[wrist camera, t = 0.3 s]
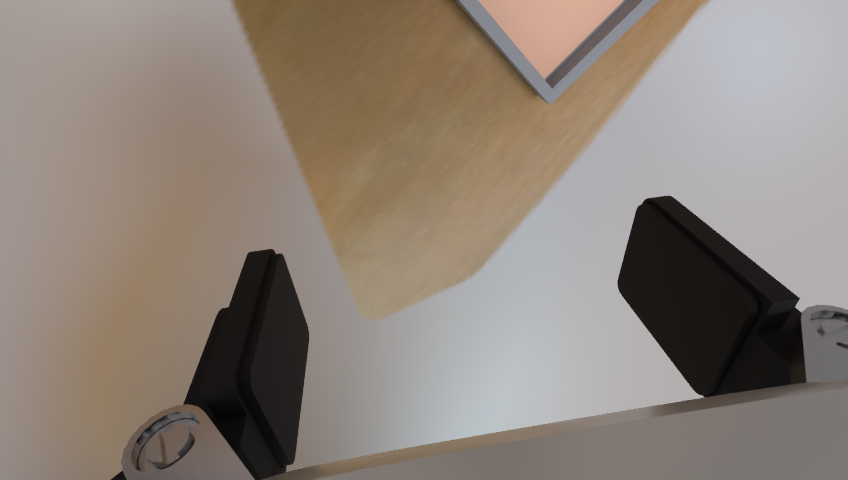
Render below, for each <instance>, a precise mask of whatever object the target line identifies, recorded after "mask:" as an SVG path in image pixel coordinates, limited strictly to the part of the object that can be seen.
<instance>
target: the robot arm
mask: <svg viewBox="0 0 848 480" xmlns="http://www.w3.org/2000/svg"><path fill="white" fill-rule="evenodd" d="M618 289H619V292H620V293H621V294H622V296H623V297H624V299H625V300H626V301H627V303H628V304H629V305H630V307H631V308H632V309H633V311H634V312H635V313H636V315H637V316H638V317H639V319H640V320H641V321H642V323H643V324H644V325H645V326H646V328H647V329H648V330H649V332H650V333H651V334H652V336H653V337H654V338H655V340H656V341H657V342H658V344H659V345H660V346H661V348H662V349H663V350H664V352H665V353H666V354H667V356H668V357H669V358H670V359H671V361H672V362H673V363H674V365H675V366H676V367H677V369H678V370H679V371H680V373H681V374H682V375H683V377H684V378H685V379H686V381H687V382H688V383H689V385H690V386H691V387H692V388H693V390H694V391H695V392H696V393H698V394H699V395H703V396H704V397H705V398H700V399H694V400H687V401H681V402H675V403H669V404H664V405H657V406H651V407H645V408H639V409H633V410H626V411H621V412H614V413H609V414H603V415H597V416H591V417H585V418H579V419H574V420H567V421H561V422H556V423H549V424H543V425H537V426H532V427H526V428H520V429H514V430H508V431H502V432H496V433H490V434H485V435H479V436H473V437H467V438H462V439H456V440H450V441H444V442H439V443H433V444H428V445H421V446H416V447H410V448H405V449H399V450H393V451H387V452H382V453H377V454H372V455H366V456H361V457H356V458H351V459H346V460H340V461H335V462H331V463H325V464H319V465H315V466H311V467H307V468H303V469H298V470H294V471H290V472H286V466H287V465H291V464H293V463H294V460H295V453H296V445H297V437H298V428H299V420H300V411H301V403H302V395H303V386H304V378H305V369H306V361H307V352H308V343H309V331H308V326H307V323H306V320H305V317H304V314H303V311H302V308H301V306H300V303H299V300H298V297H297V294H296V291H295V288H294V285H293V282H292V279H291V276H290V273H289V270H288V268H287V264H286V262H285V259H284V256H283V255H282V254H276V253H275V251H274V250H273V249H268V250H261V251H254V252H249V253H248V254H247V257H246V260H245V262H244V265H243V268H242V271H241V274H240V277H239V279H238V282H237V285H236V288H235V291H234V294H233V297H232V300H231V302H230V305H229V307H228V308H222V309H221V310H220V311H219V312H218V314H217V316H216V319H215V321H214V324H213V327H212V329H211V332H210V335H209V337H208V340H207V343H206V345H205V348H204V351H203V353H202V356H201V359H200V361H199V364H198V367H197V369H196V372H195V375H194V377H193V380H192V383H191V385H190V388H189V391H188V393H187V396H186V399H185V401H184V404H183V405H176V406H174V407H170V408H167V409H164V410H163V411H161V412H159V413H158V414H156V415H154V416H152V417H151V418H149V419H148V420H147V421H146V422H145V423H143V424H142V425H141V426H140V427H139V428H138V429H137V430H136V432H135V433H134V434H133V435H132V436H131V437H130V440H129V441H128V443H127V445H126V447H125V448H124V451H123V456H122V460H121V464H122V469H123V470H122V471H121V472H120V473H119V474H117V475H116V476H115V477H114V478H112V479H111V480H848V310H846V309H843V308H839V307H834V306H828V305H816V306H812V307H808V308H806V309H805V310H804V311H803V312H802V313H801V312H800V311H799V310H797V309H796V308H795V306H796V304H797V302H798V301H799V299H800V298H799V297H797V296H796V295H795V294H793V293H792V292H791V291H790V290H789V289H787V288H786V287H785V286H784V285H782V284H781V283H780V282H779V281H777V280H776V279H775V278H774V277H772V276H771V275H770V274H768V273H767V272H766V271H765V270H763V269H762V268H761V267H760V266H758V265H757V264H756V263H755V262H753V261H752V260H751V259H750V258H748V257H747V256H746V255H745V254H743V253H742V252H741V251H739V250H738V249H737V248H736V247H735V246H733V245H732V244H731V243H730V242H728V241H727V240H726V239H725V238H723V237H722V236H721V235H720V234H718V233H717V232H716V231H715V230H713V229H712V228H711V227H709V226H708V225H707V224H706V223H705V222H703V221H702V220H701V219H700V218H698V217H697V216H696V215H695V214H693V213H692V212H691V211H689V210H688V209H687V208H686V207H685V206H683V205H682V204H681V203H680V202H678V201H677V200H676V199H675V198H673V197H671V196H662V197H654V198H648V199H646V200H644V202H643V203H642V205H640V206H638V208H637V210H636V213H635V218H634V222H633V225H632V229H631V233H630V236H629V240H628V244H627V247H626V251H625V255H624V259H623V263H622V267H621V270H620V274H619V278H618Z"/></svg>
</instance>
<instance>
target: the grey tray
mask: <svg viewBox="0 0 848 480" xmlns="http://www.w3.org/2000/svg"><path fill="white" fill-rule="evenodd" d="M455 1H456V2H457V3H458V4H459V6H460V7H461V8H462V9H463V10H464V11H465V12H466V14H467V15H468V16H469V17H470V18H471V19H472V20H473V22H474V23H475V24H476V25H477V26H478V27H479V28H480V30H481V31H482V32H483V33H484V34H485V35H486V36H487V38H488V39H489V40H490V41H491V42H492V43H493V45H494V46H495V47H496V48H497V49H498V50H499V51H500V53H501V54H502V55H503V56H504V57H505V58H506V59H507V61H508V62H509V63H510V64H511V65H512V66H513V67H514V69H515V70H516V71H517V72H518V73H519V74H520V75H521V77H522V78H523V79H524V80H525V81H526V82H527V83H528V85H529V86H530V87H531V88H532V89H533V90H534V91H535V93H536V94H537V95H538V96H539V97H541V98H542V99H543V100H544V101H545V102H547V103H548V104H549V105H550V104H551V103H552V102H553V101H554V100H556V99H557V98H558V97H559V96H560V95H561V94H562V93H563V92H564V91H565V90H566V89H567V88H568V87H569V86H570V85H571V84H572V83H573V82H574V81H575V80H576V79H577V78H578V77H579V76H581V75H582V74H583V73H584V72H585V71H586V70H587V69H588V68H589V67H590V66H591V65H592V64H593V63H594V62H595V61H596V60H597V59H598V58H599V57H600V56H601V55H602V54H603V53H605V52H606V51H607V50H608V49H609V48H610V47H611V46H612V45H613V44H614V43H615V42H616V41H617V40H618V39H619V38H620V37H621V36H622V35H623V34H624V33H625V32H626V31H627V30H628V29H630V28H631V27H632V26H633V25H634V24H635V23H636V22H637V21H638V20H639V19H640V18H641V17H642V16H643V15H644V14H645V13H646V12H647V11H648V10H649V9H650V8H651V7H652V6H653V5H655V4H656V3H657V2H658V1H659V0H455Z"/></svg>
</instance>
